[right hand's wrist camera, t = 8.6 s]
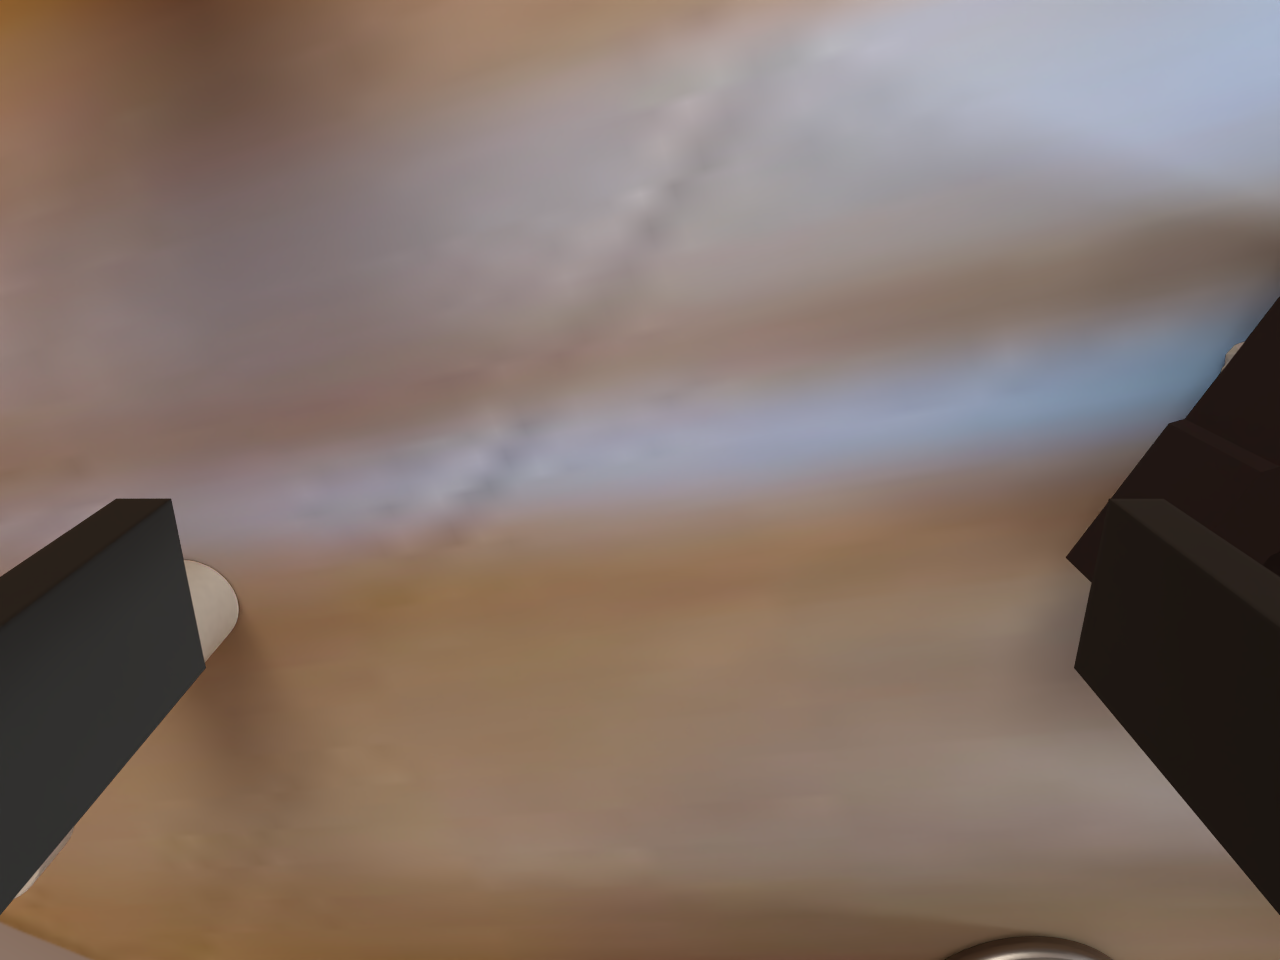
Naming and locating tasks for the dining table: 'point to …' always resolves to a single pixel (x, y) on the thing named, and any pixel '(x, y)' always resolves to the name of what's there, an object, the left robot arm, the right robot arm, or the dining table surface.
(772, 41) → the dining table surface
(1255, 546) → the mechanical component
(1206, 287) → the dining table surface
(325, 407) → the dining table surface
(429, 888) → the dining table surface
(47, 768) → the right robot arm
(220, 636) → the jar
